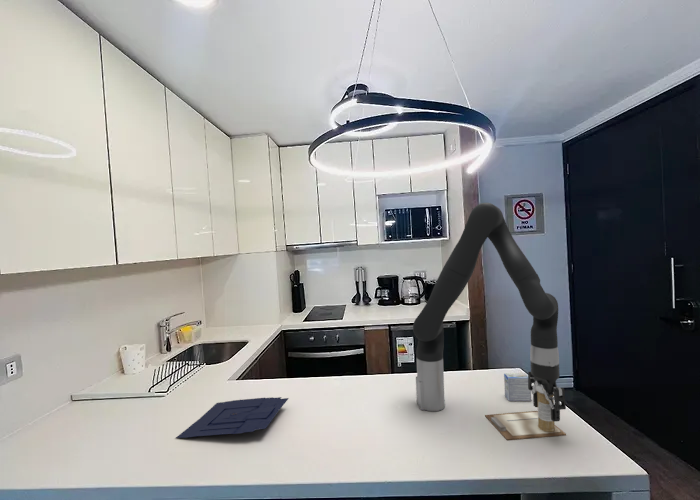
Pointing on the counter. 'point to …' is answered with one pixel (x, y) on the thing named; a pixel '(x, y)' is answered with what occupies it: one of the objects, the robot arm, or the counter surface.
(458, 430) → the counter surface
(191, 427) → the navy blue folded cloth
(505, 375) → the medicine box
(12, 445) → the counter surface
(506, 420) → the clipboard
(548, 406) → the sprinkles bottle
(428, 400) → the robot arm
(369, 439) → the counter surface
